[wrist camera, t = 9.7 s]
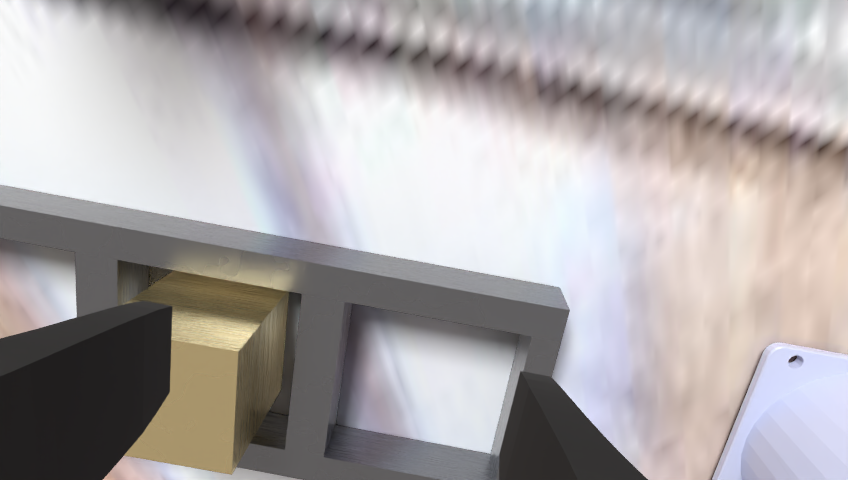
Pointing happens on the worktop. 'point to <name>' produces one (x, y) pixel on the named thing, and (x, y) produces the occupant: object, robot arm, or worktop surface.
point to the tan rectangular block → (215, 369)
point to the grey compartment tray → (302, 321)
